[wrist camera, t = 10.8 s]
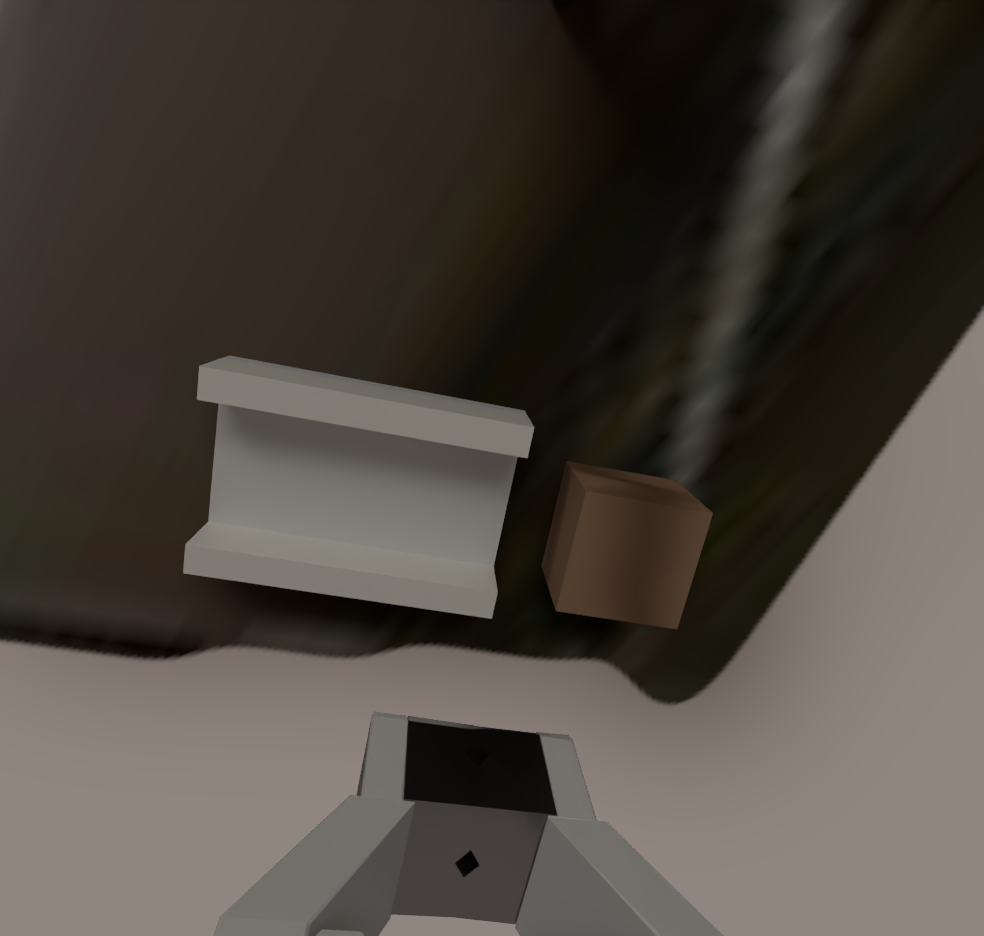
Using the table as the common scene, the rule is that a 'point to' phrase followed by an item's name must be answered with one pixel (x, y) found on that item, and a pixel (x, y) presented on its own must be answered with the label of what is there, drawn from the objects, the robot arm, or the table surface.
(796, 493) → the table surface
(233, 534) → the chute
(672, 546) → the walnut block
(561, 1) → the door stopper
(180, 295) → the table surface
